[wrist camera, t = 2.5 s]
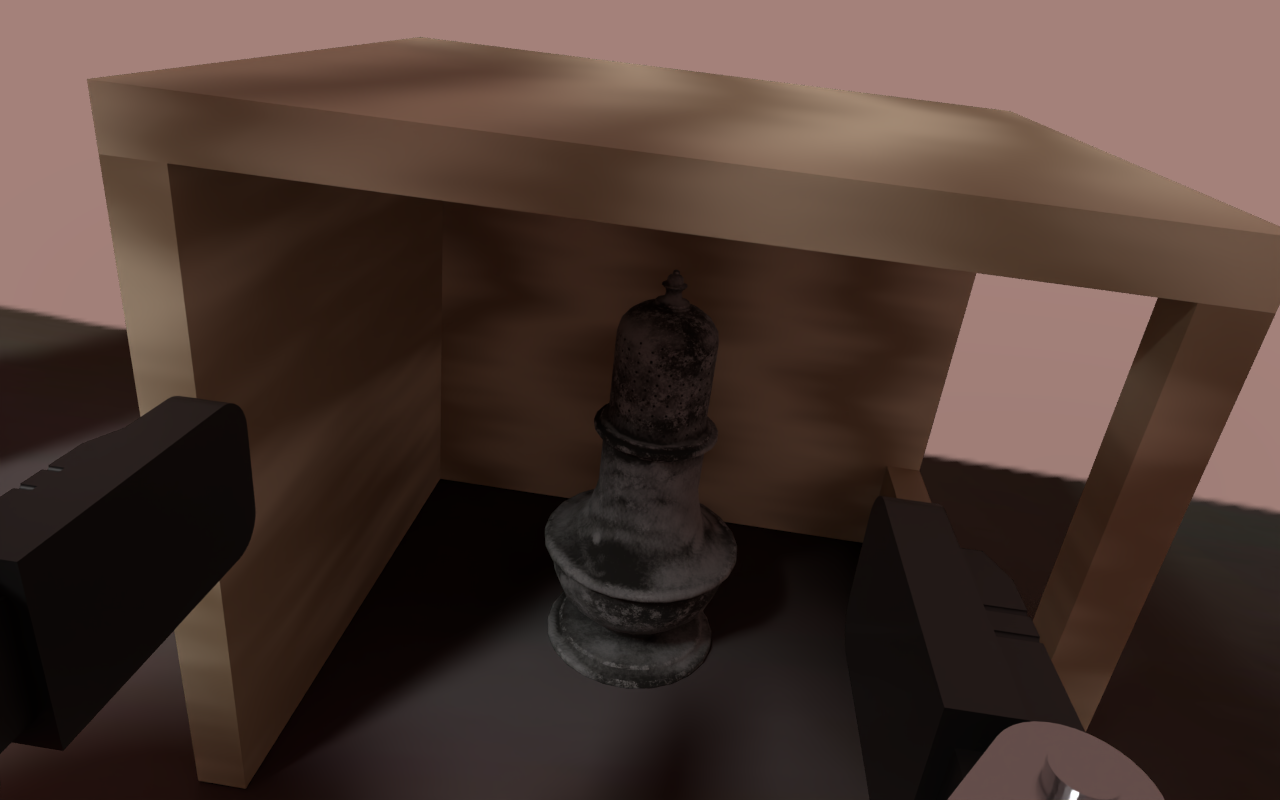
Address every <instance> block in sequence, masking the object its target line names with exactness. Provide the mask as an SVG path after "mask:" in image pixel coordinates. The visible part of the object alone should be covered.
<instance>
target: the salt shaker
mask: <svg viewBox="0 0 1280 800" xmlns="http://www.w3.org/2000/svg"><path fill="white" fill-rule="evenodd" d="M662 285H663V286H664V287H665V288H666V293H665V295H661V296H658V297H657V298H656V299H649V300H646V301H643V302H641V303H639V304H637V305H634V306H633V307H631V308H630V309H629V310H628V311H627V312H626V313H625V314H624V315H623V316H622V318H621V320H620V323H619V326H618V329H617V334H616V343H615V353H614V363H613V372H612V382H611V391H610V401H609V403H608V404H606V405H604V406H603V407H602V408H601V409H599V410H598V411H597V413H596V415H595V418H594V426H595V430H596V431H597V433H598V434H599V436H600V437H601V438H602V439H603V442H602V452H601V462H600V472H599V480H598V482H597V485H596V487H595V489H591V490H588V491H584V492H581V493H579V494H577V495H575V496H573V497H571V498H569V499H568V500H566V501H564V502H563V503H562V504H561V505H560V506H559V507H558V508H557V509H556V510H555V511H554V512H552V513H551V515H550V517H549V520H548V522H547V524H546V527H545V545H546V548H547V550H548V552H549V554H550V556H551V558H552V560H553V561H554V568H555V571H556V573H557V576H558V578H559V581H560V583H561V586H562V588H563V590H564V592H562V594H561V595H560V596H559V597H558V598H557V599H556V601H555V602H554V603H553V605H552V607H551V610H550V613H549V615H548V636H549V638H550V641H551V643H552V645H553V648H554V650H555V651H556V652H557V653H558V655H559V656H560V657H561V658H562V659H563V660H564V662H565V663H566V664H567V665H569V666H570V667H572V668H573V669H575V670H576V671H578V672H579V673H581V674H582V675H584V676H586V677H589V678H591V679H593V680H596V681H598V682H601V683H603V684H607V685H613V686H618V687H623V688H654V687H658V686H663V685H668V684H672V683H674V682H676V681H678V680H680V679H683V678H685V677H687V676H689V675H690V674H691V673H692V672H694V671H695V670H696V669H697V668H698V667H699V666H700V665H701V664H702V663H703V661H704V659H705V658H706V656H707V654H708V652H709V650H710V643H711V633H712V632H711V629H710V625H709V622H708V618H707V617H706V615H705V614H704V612H703V610H704V608H705V607H706V606H707V605H708V603H709V602H710V601H711V599H712V598H713V597H714V595H715V593H716V592H717V590H718V588H719V586H720V585H721V583H722V582H723V581H724V580H725V579H727V578H728V576H729V575H730V573H731V571H732V569H733V568H734V566H735V564H736V558H737V544H736V541H735V539H734V536H733V533H732V531H731V530H730V529H729V527H728V526H727V525H726V524H725V522H724V521H723V520H722V519H721V518H720V516H718V515H717V514H716V513H714V512H713V511H712V510H710V509H709V508H708V507H706V506H705V505H703V504H701V503H699V493H698V488H699V482H700V476H701V470H702V463H703V457H704V453H706V452H707V451H709V450H711V449H712V448H713V447H714V445H715V444H716V443H717V438H718V430H717V428H716V425H715V423H714V422H713V421H712V420H711V419H710V418H709V417H708V416H707V415H708V409H709V403H710V396H711V390H712V384H713V378H714V371H715V365H716V359H717V353H718V346H719V333H718V330H717V328H716V326H715V324H714V323H713V321H712V319H711V317H709V316H708V315H707V314H706V313H705V312H703V311H702V310H701V309H700V308H698V307H697V306H695V305H693V304H690V302H689V301H688V300H687V299H685V298H683V297H682V291H683V290H685V289H686V288H687V287H688V285H687V284H686V283H684V278H683V276H682V275H680V271H679V270H674V271H673V274H670V275H669V276H668V278H667V280H666V281H663V282H662Z"/></svg>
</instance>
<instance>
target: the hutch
mask: <svg viewBox="0 0 1280 800" xmlns="http://www.w3.org/2000/svg"><path fill="white" fill-rule="evenodd" d="M87 83H88V89H89V96H90V102H91V108H92V114H93V121H94V127H95V133H96V140H97V146H98V152H99V158H100V164H101V171H102V177H103V184H104V190H105V196H106V203H107V209H108V215H109V221H110V227H111V234H112V241H113V247H114V253H115V259H116V266H117V272H118V278H119V285H120V291H121V297H122V304H123V310H124V316H125V322H126V329H127V335H128V341H129V348H130V354H131V360H132V367H133V373H134V379H135V386H136V392H137V398H138V404H139V411H140V417H141V416H143V415H144V414H146V413H147V412H149V411H150V410H152V409H153V408H155V407H156V406H158V405H159V404H161V403H162V402H164V401H165V400H167V399H168V398H170V397H173V396H184V397H191V398H199V399H206V400H213V401H220V402H227V403H234V404H236V405H238V406H239V407H240V408H241V409H242V410H243V412H244V414H245V417H246V421H247V428H248V438H249V448H250V458H251V468H252V478H253V487H254V497H255V508H256V517H255V525H254V530H253V534H252V537H251V540H250V542H249V545H248V547H247V549H246V551H245V552H244V554H243V555H242V557H241V558H240V559H239V560H238V561H237V562H236V563H235V565H234V566H233V567H232V568H231V569H230V570H229V571H228V572H227V573H226V574H225V575H224V577H223V578H222V579H221V580H220V581H219V582H218V583H217V584H216V585H215V586H214V587H213V588H212V590H211V591H210V592H209V593H208V594H207V595H206V596H205V597H204V598H203V599H202V600H201V602H200V603H199V604H198V605H197V606H196V607H195V608H194V609H193V610H192V611H191V612H190V613H189V615H188V616H187V617H186V618H185V619H184V620H183V621H182V622H181V623H180V624H179V625H178V627H177V628H176V629H175V630H174V631H175V638H176V644H177V650H178V657H179V663H180V669H181V676H182V682H183V688H184V694H185V701H186V707H187V713H188V720H189V726H190V732H191V739H192V745H193V751H194V757H195V764H196V770H197V776H198V781H203V782H209V783H215V784H221V785H227V786H232V787H238V788H244V789H246V787H247V786H248V784H249V783H250V781H251V780H252V778H253V776H254V775H255V773H256V772H257V770H258V768H259V767H260V765H261V764H262V762H263V760H264V759H265V757H266V756H267V754H268V752H269V751H270V749H271V748H272V746H273V744H274V743H275V741H276V740H277V738H278V736H279V735H280V733H281V732H282V730H283V728H284V727H285V725H286V724H287V722H288V720H289V719H290V717H291V716H292V714H293V713H294V711H295V709H296V708H297V706H298V705H299V703H300V701H301V700H302V698H303V697H304V695H305V693H306V692H307V690H308V689H309V687H310V685H311V684H312V682H313V681H314V679H315V677H316V676H317V674H318V673H319V671H320V669H321V668H322V666H323V665H324V663H325V661H326V660H327V658H328V657H329V655H330V654H331V652H332V650H333V649H334V647H335V646H336V644H337V642H338V641H339V639H340V638H341V636H342V634H343V633H344V631H345V630H346V628H347V626H348V625H349V623H350V622H351V620H352V618H353V617H354V615H355V614H356V612H357V610H358V609H359V607H360V606H361V604H362V602H363V601H364V599H365V598H366V596H367V595H368V593H369V591H370V590H371V588H372V587H373V585H374V583H375V582H376V580H377V579H378V577H379V575H380V574H381V572H382V571H383V569H384V567H385V566H386V564H387V563H388V561H389V559H390V558H391V556H392V555H393V553H394V551H395V550H396V548H397V547H398V545H399V543H400V542H401V540H402V539H403V537H404V536H405V534H406V532H407V531H408V529H409V528H410V526H411V524H412V523H413V521H414V520H415V518H416V516H417V515H418V513H419V512H420V510H421V508H422V507H423V505H424V504H425V502H426V500H427V499H428V497H429V496H430V494H431V492H432V491H433V489H434V488H435V486H436V484H437V483H438V481H439V480H440V479H446V480H452V481H459V482H465V483H472V484H479V485H485V486H492V487H498V488H505V489H511V490H518V491H525V492H531V493H538V494H544V495H551V496H558V497H564V498H571V497H573V496H575V495H577V494H579V493H581V492H584V491H588V490H591V489H595V487H596V485H597V482H598V480H599V472H600V462H601V452H602V442H603V439H602V438H601V437H600V436H599V434H598V433H597V431H596V430H595V426H594V418H595V415H596V413H597V411H598V410H599V409H601V408H602V407H603V406H604V405H606V404H608V403H609V401H610V391H611V382H612V372H613V363H614V353H615V343H616V334H617V329H618V326H619V323H620V320H621V318H622V316H623V315H624V314H625V313H626V312H627V311H628V310H629V309H630V308H631V307H633V306H634V305H637V304H639V303H641V302H643V301H646V300H649V299H656V298H657V297H658V296H661V295H665V293H666V288H665V287H664V286H663V285H662V282H663V281H666V280H667V278H668V276H669V275H670V274H673V271H674V270H679V271H680V275H682V276H683V278H684V283H686V284H687V285H688V287H687V288H686V289H685V290H683V291H682V297H683V298H685V299H687V300H688V301H689V302H690V304H693V305H695V306H697V307H698V308H700V309H701V310H702V311H703V312H705V313H706V314H707V315H708V316H709V317H711V319H712V321H713V323H714V324H715V326H716V328H717V330H718V333H719V346H718V353H717V359H716V365H715V371H714V378H713V384H712V390H711V396H710V403H709V409H708V415H707V416H708V417H709V418H710V419H711V420H712V421H713V422H714V423H715V425H716V428H717V430H718V438H717V443H716V444H715V445H714V447H713V448H712V449H711V450H709V451H707V452H706V453H704V457H703V463H702V470H701V476H700V482H699V488H698V493H699V503H701V504H703V505H705V506H706V507H708V508H709V509H710V510H712V511H713V512H714V513H716V514H717V515H718V516H720V518H721V519H722V520H723V521H724V522H729V523H735V524H742V525H748V526H755V527H762V528H768V529H775V530H781V531H788V532H795V533H801V534H808V535H814V536H821V537H827V538H834V539H841V540H847V541H854V542H860V543H863V540H864V536H865V532H866V528H867V524H868V520H869V516H870V512H871V509H872V506H873V504H874V501H875V500H876V498H877V497H878V496H885V497H893V498H900V499H907V500H914V501H921V502H928V503H931V500H930V498H929V495H928V492H927V490H926V487H925V484H924V482H923V479H922V476H921V474H920V471H919V470H920V467H921V463H922V460H923V456H924V453H925V449H926V446H927V443H928V439H929V436H930V432H931V429H932V425H933V422H934V418H935V414H936V411H937V408H938V404H939V401H940V397H941V394H942V391H943V387H944V384H945V380H946V377H947V373H948V370H949V366H950V363H951V359H952V356H953V352H954V349H955V345H956V342H957V338H958V335H959V331H960V328H961V324H962V321H963V318H964V314H965V311H966V307H967V304H968V300H969V297H970V293H971V290H972V286H973V283H974V279H975V276H976V273H982V274H988V275H996V276H1004V277H1011V278H1018V279H1025V280H1033V281H1040V282H1047V283H1055V284H1063V285H1070V286H1077V287H1085V288H1092V289H1099V290H1107V291H1115V292H1121V293H1129V294H1136V295H1143V296H1151V297H1158V299H1157V301H1156V304H1155V307H1154V309H1153V312H1152V315H1151V317H1150V320H1149V322H1148V325H1147V327H1146V330H1145V332H1144V335H1143V338H1142V340H1141V343H1140V346H1139V348H1138V351H1137V353H1136V356H1135V358H1134V361H1133V364H1132V366H1131V369H1130V371H1129V374H1128V376H1127V379H1126V381H1125V384H1124V387H1123V389H1122V392H1121V394H1120V397H1119V400H1118V402H1117V405H1116V407H1115V410H1114V413H1113V415H1112V418H1111V420H1110V423H1109V425H1108V428H1107V431H1106V433H1105V436H1104V438H1103V441H1102V443H1101V446H1100V449H1099V451H1098V454H1097V456H1096V459H1095V461H1094V464H1093V467H1092V469H1091V472H1090V475H1089V477H1088V480H1087V482H1086V485H1085V487H1084V490H1083V492H1082V495H1081V498H1080V500H1079V503H1078V505H1077V508H1076V510H1075V513H1074V516H1073V518H1072V521H1071V523H1070V526H1069V529H1068V531H1067V534H1066V536H1065V539H1064V541H1063V544H1062V547H1061V549H1060V552H1059V554H1058V557H1057V560H1056V562H1055V565H1054V567H1053V570H1052V572H1051V575H1050V578H1049V580H1048V583H1047V585H1046V588H1045V590H1044V593H1043V596H1042V598H1041V601H1040V603H1039V606H1038V609H1037V611H1036V614H1035V616H1034V619H1033V623H1034V625H1035V627H1036V629H1037V631H1038V634H1039V636H1040V639H1039V642H1040V643H1043V644H1044V646H1045V648H1046V650H1047V652H1048V655H1049V657H1050V659H1051V661H1052V663H1053V665H1054V667H1055V669H1056V671H1057V673H1058V675H1059V678H1060V680H1061V682H1062V684H1063V686H1064V688H1065V690H1066V692H1067V694H1068V696H1069V699H1070V701H1071V703H1072V705H1073V707H1074V709H1075V711H1076V713H1077V715H1078V717H1079V720H1080V722H1081V724H1082V726H1083V728H1084V730H1085V732H1086V731H1087V728H1088V726H1089V724H1090V722H1091V720H1092V717H1093V715H1094V713H1095V711H1096V709H1097V706H1098V704H1099V702H1100V700H1101V698H1102V695H1103V693H1104V691H1105V689H1106V686H1107V684H1108V682H1109V680H1110V678H1111V675H1112V673H1113V671H1114V669H1115V667H1116V664H1117V662H1118V660H1119V658H1120V656H1121V653H1122V651H1123V649H1124V647H1125V645H1126V642H1127V640H1128V638H1129V636H1130V634H1131V631H1132V629H1133V627H1134V625H1135V623H1136V620H1137V618H1138V616H1139V614H1140V611H1141V609H1142V607H1143V605H1144V603H1145V600H1146V598H1147V596H1148V594H1149V592H1150V589H1151V587H1152V585H1153V583H1154V581H1155V578H1156V576H1157V574H1158V572H1159V570H1160V567H1161V565H1162V563H1163V561H1164V559H1165V556H1166V554H1167V552H1168V550H1169V548H1170V545H1171V543H1172V541H1173V539H1174V536H1175V534H1176V532H1177V530H1178V528H1179V525H1180V523H1181V521H1182V519H1183V517H1184V514H1185V512H1186V510H1187V508H1188V506H1189V503H1190V501H1191V499H1192V497H1193V495H1194V492H1195V490H1196V488H1197V486H1198V484H1199V481H1200V479H1201V476H1202V475H1203V472H1204V470H1205V468H1206V466H1207V464H1208V461H1209V459H1210V457H1211V455H1212V453H1213V450H1214V448H1215V446H1216V443H1217V442H1218V439H1219V437H1220V435H1221V433H1222V431H1223V428H1224V426H1225V424H1226V422H1227V420H1228V417H1229V415H1230V412H1231V411H1232V409H1233V406H1234V404H1235V402H1236V400H1237V397H1238V395H1239V393H1240V391H1241V389H1242V386H1243V384H1244V382H1245V380H1246V378H1247V375H1248V373H1249V371H1250V369H1251V366H1252V364H1253V362H1254V360H1255V358H1256V356H1257V353H1258V351H1259V349H1260V347H1261V344H1262V342H1263V340H1264V338H1265V336H1266V334H1267V331H1268V329H1269V327H1270V325H1271V322H1272V320H1273V318H1274V316H1275V313H1276V311H1277V309H1278V307H1279V305H1280V226H1277V225H1275V224H1273V223H1270V222H1268V221H1266V220H1263V219H1261V218H1259V217H1256V216H1254V215H1252V214H1249V213H1247V212H1245V211H1242V210H1240V209H1238V208H1235V207H1233V206H1231V205H1228V204H1226V203H1223V202H1221V201H1219V200H1216V199H1214V198H1212V197H1210V196H1207V195H1205V194H1203V193H1200V192H1198V191H1195V190H1193V189H1191V188H1189V187H1186V186H1184V185H1181V184H1179V183H1177V182H1175V181H1172V180H1170V179H1168V178H1165V177H1163V176H1160V175H1158V174H1156V173H1153V172H1151V171H1149V170H1146V169H1144V168H1142V167H1139V166H1137V165H1135V164H1132V163H1130V162H1128V161H1125V160H1123V159H1121V158H1118V157H1116V156H1114V155H1111V154H1109V153H1107V152H1104V151H1102V150H1100V149H1097V148H1095V147H1093V146H1090V145H1088V144H1085V143H1083V142H1081V141H1078V140H1076V139H1074V138H1072V137H1069V136H1067V135H1065V134H1062V133H1060V132H1058V131H1055V130H1053V129H1051V128H1048V127H1046V126H1043V125H1041V124H1039V123H1037V122H1034V121H1032V120H1030V119H1027V118H1025V117H1023V116H1020V115H1018V114H1015V113H1013V112H1011V111H1003V110H996V109H987V108H979V107H972V106H964V105H955V104H948V103H940V102H932V101H924V100H916V99H908V98H900V97H892V96H883V95H876V94H868V93H861V92H852V91H844V90H836V89H829V88H820V87H812V86H805V85H797V84H788V83H781V82H773V81H764V80H757V79H749V78H740V77H733V76H724V75H716V74H710V73H701V72H693V71H686V70H678V69H670V68H662V67H654V66H646V65H638V64H630V63H622V62H614V61H606V60H597V59H590V58H582V57H574V56H567V55H559V54H551V53H542V52H535V51H527V50H519V49H511V48H503V47H495V46H486V45H478V44H471V43H463V42H455V41H446V40H439V39H431V38H423V37H418V38H410V39H402V40H395V41H387V42H378V43H370V44H362V45H354V46H347V47H338V48H330V49H322V50H314V51H307V52H298V53H291V54H283V55H275V56H267V57H259V58H251V59H243V60H235V61H228V62H219V63H211V64H203V65H195V66H187V67H179V68H171V69H163V70H155V71H148V72H139V73H132V74H124V75H116V76H108V77H100V78H92V79H87Z"/></svg>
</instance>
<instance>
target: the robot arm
mask: <svg viewBox="0 0 1280 800" xmlns="http://www.w3.org/2000/svg"><path fill="white" fill-rule="evenodd" d="M255 517H256V508H255V497H254V487H253V478H252V468H251V458H250V448H249V438H248V428H247V421H246V417H245V414H244V412H243V410H242V409H241V408H240V407H239V406H238V405H236V404H234V403H227V402H220V401H213V400H206V399H199V398H191V397H184V396H173V397H170V398H168V399H167V400H165V401H164V402H162V403H161V404H159V405H158V406H156V407H155V408H153V409H152V410H150V411H149V412H147V413H146V414H144V415H143V416H141V417H140V418H138V419H137V420H135V421H134V422H132V423H131V424H129V425H128V426H126V427H125V428H122V429H120V430H117V431H114V432H112V433H109V434H106V435H103V436H101V437H98V438H95V439H93V440H90V441H87V442H85V443H82V444H80V445H79V446H77V447H76V448H74V449H73V450H71V451H70V452H68V453H67V454H65V455H64V456H62V457H60V458H59V459H57V460H56V461H54V462H53V463H51V464H50V465H49V468H48V470H41V471H39V472H37V473H36V474H34V475H33V476H31V477H30V478H28V479H27V480H25V481H24V482H22V483H21V486H20V488H19V489H15V488H13V489H11V490H10V491H8V492H7V493H5V494H4V495H2V496H1V497H0V753H1V752H2V751H3V750H4V749H5V748H6V747H7V746H8V745H9V744H10V743H11V742H13V743H19V744H25V745H31V746H37V747H43V748H49V749H55V750H61V751H63V750H64V749H65V748H66V747H67V746H68V745H69V744H70V743H71V742H72V741H73V740H74V738H75V737H76V736H77V735H78V734H79V733H80V732H81V731H82V730H83V729H84V728H85V726H86V725H87V724H88V723H89V722H90V721H91V720H92V719H93V718H94V717H95V716H96V715H97V713H98V712H99V711H100V710H101V709H102V708H103V707H104V706H105V705H106V704H107V703H108V701H109V700H110V699H111V698H112V697H113V696H114V695H115V694H116V693H117V692H118V691H119V690H120V688H121V687H122V686H123V685H124V684H125V683H126V682H127V681H128V680H129V679H130V678H131V677H132V675H133V674H134V673H135V672H136V671H137V670H138V669H139V668H140V667H141V666H142V665H143V663H144V662H145V661H146V660H147V659H148V658H149V657H150V656H151V655H152V654H153V653H154V652H155V650H156V649H157V648H158V647H159V646H160V645H161V644H162V643H163V642H164V641H165V640H166V638H167V637H168V636H169V635H170V634H171V633H172V632H173V631H174V630H175V629H176V628H177V627H178V625H179V624H180V623H181V622H182V621H183V620H184V619H185V618H186V617H187V616H188V615H189V613H190V612H191V611H192V610H193V609H194V608H195V607H196V606H197V605H198V604H199V603H200V602H201V600H202V599H203V598H204V597H205V596H206V595H207V594H208V593H209V592H210V591H211V590H212V588H213V587H214V586H215V585H216V584H217V583H218V582H219V581H220V580H221V579H222V578H223V577H224V575H225V574H226V573H227V572H228V571H229V570H230V569H231V568H232V567H233V566H234V565H235V563H236V562H237V561H238V560H239V559H240V558H241V557H242V555H243V554H244V552H245V551H246V549H247V547H248V545H249V542H250V540H251V537H252V534H253V530H254V525H255ZM1039 639H1040V636H1039V634H1038V631H1037V629H1036V627H1035V625H1034V623H1033V621H1032V619H1031V617H1027V608H1026V606H1025V604H1024V602H1023V600H1022V598H1021V596H1020V594H1019V592H1018V590H1017V587H1016V585H1015V583H1014V581H1013V580H1012V579H1011V578H1010V577H1009V576H1008V575H1007V574H1006V573H1005V572H1004V571H1003V570H1002V569H1001V568H1000V567H999V566H998V565H997V564H996V563H995V562H993V561H992V560H991V559H990V558H989V557H988V556H987V555H986V554H985V553H984V552H983V551H978V550H971V549H964V548H960V546H959V544H958V541H957V539H956V536H955V534H954V531H953V529H952V526H951V524H950V521H949V519H948V517H947V514H946V512H945V509H944V508H943V506H942V505H940V504H935V503H928V502H921V501H914V500H907V499H900V498H893V497H885V496H878V497H877V498H876V500H875V501H874V504H873V506H872V509H871V512H870V516H869V520H868V524H867V528H866V532H865V536H864V540H863V544H862V548H861V552H860V556H859V560H858V564H857V568H856V572H855V576H854V580H853V584H852V588H851V592H850V596H849V601H848V606H847V613H846V623H845V649H846V656H847V662H848V668H849V674H850V681H851V687H852V693H853V699H854V705H855V711H856V718H857V724H858V730H859V736H860V742H861V748H862V755H863V761H864V767H865V773H866V779H867V786H868V792H869V798H870V800H1164V798H1163V796H1162V794H1161V793H1160V791H1159V790H1158V788H1157V787H1156V785H1155V784H1154V783H1153V781H1152V780H1151V779H1150V778H1149V777H1148V776H1147V775H1146V774H1145V772H1144V771H1143V770H1142V769H1140V768H1139V767H1138V766H1137V765H1136V764H1135V763H1134V762H1133V761H1132V760H1130V759H1129V758H1128V757H1126V756H1125V755H1124V754H1122V753H1121V752H1120V751H1118V750H1117V749H1115V748H1114V747H1112V746H1110V745H1109V744H1107V743H1106V742H1104V741H1102V740H1100V739H1098V738H1096V737H1094V736H1092V735H1090V734H1088V733H1086V732H1085V730H1084V728H1083V726H1082V724H1081V722H1080V720H1079V717H1078V715H1077V713H1076V711H1075V709H1074V707H1073V705H1072V703H1071V701H1070V699H1069V696H1068V694H1067V692H1066V690H1065V688H1064V686H1063V684H1062V682H1061V680H1060V678H1059V675H1058V673H1057V671H1056V669H1055V667H1054V665H1053V663H1052V661H1051V659H1050V657H1049V655H1048V652H1047V650H1046V648H1045V646H1044V644H1043V643H1040V642H1039ZM0 785H1V783H0Z"/></svg>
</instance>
